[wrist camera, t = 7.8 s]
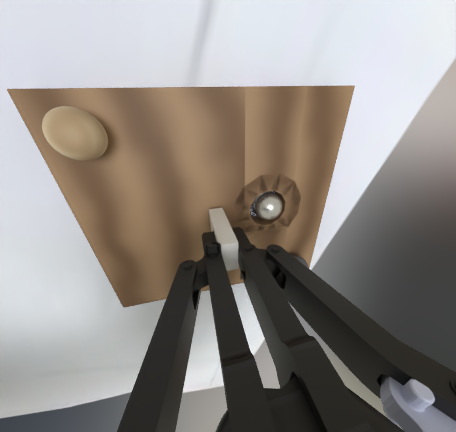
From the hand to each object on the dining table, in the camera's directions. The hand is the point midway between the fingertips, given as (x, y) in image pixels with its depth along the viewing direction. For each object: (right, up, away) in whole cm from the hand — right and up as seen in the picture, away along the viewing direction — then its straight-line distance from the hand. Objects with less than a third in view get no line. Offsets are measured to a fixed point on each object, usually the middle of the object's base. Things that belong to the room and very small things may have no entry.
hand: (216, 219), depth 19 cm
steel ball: (+6, +2, +2) cm, 7 cm away
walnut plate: (0, +2, +3) cm, 3 cm away
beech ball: (-9, +6, -7) cm, 13 cm away
